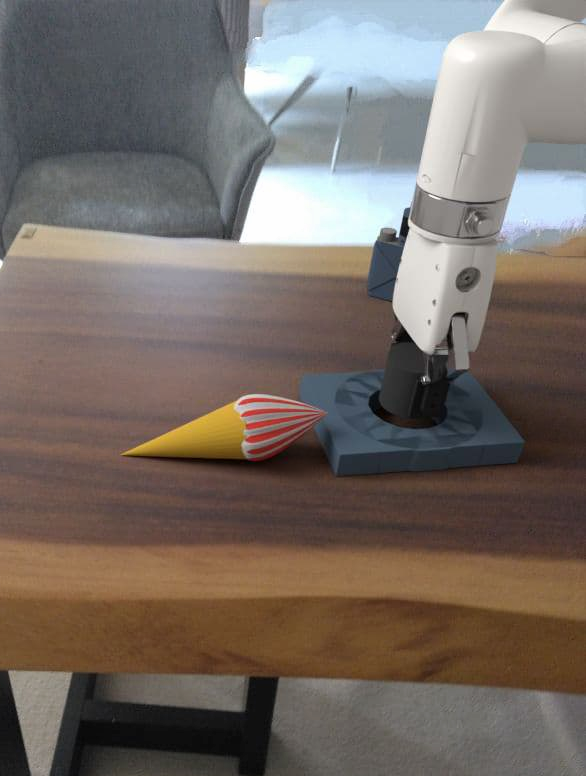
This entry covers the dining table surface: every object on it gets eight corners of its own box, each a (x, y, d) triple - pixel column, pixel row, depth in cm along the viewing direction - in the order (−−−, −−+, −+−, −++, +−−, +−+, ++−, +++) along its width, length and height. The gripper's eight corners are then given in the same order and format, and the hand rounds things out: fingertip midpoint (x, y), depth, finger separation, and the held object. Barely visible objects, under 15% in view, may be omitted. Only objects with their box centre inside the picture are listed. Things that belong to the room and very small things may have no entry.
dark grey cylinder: (427, 384, 80) (439, 339, 77) (450, 417, 76) (463, 371, 73) (370, 387, 80) (379, 343, 76) (390, 421, 75) (401, 375, 72)
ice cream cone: (131, 483, 79) (330, 444, 77) (121, 490, 73) (337, 447, 71) (118, 422, 78) (319, 380, 76) (106, 424, 72) (325, 378, 70)
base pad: (459, 384, 86) (464, 364, 84) (518, 464, 76) (526, 443, 74) (298, 394, 84) (301, 373, 82) (336, 477, 74) (340, 456, 72)
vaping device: (401, 304, 100) (422, 208, 92) (362, 294, 102) (379, 199, 94) (408, 297, 102) (429, 201, 94) (369, 287, 104) (387, 192, 96)
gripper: (550, 250, 59) (484, 445, 72) (459, 173, 72) (417, 350, 84) (455, 254, 59) (405, 451, 71) (380, 176, 71) (348, 354, 83)
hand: (411, 395), depth 77 cm, fingers closed on dark grey cylinder, 6 cm apart
